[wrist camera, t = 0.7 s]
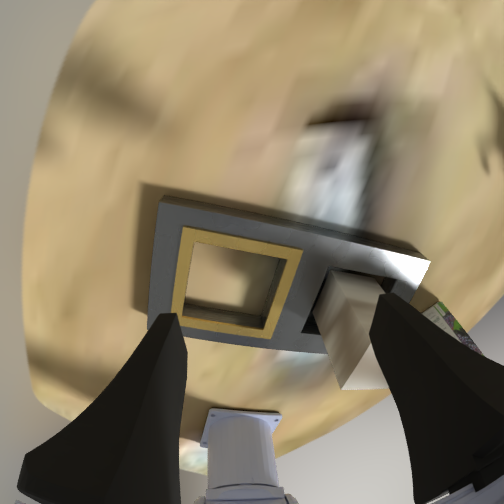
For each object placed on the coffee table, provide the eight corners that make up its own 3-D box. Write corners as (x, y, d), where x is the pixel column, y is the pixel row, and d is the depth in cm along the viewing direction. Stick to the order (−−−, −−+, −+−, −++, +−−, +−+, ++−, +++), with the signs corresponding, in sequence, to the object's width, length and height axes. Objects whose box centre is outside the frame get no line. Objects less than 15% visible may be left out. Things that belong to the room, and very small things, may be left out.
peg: (354, 317, 24) (390, 388, 17) (312, 312, 24) (340, 389, 17) (373, 277, 23) (421, 345, 16) (330, 269, 22) (370, 342, 15)
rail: (372, 345, 26) (378, 357, 25) (150, 317, 23) (146, 331, 21) (420, 253, 22) (431, 262, 20) (163, 195, 19) (158, 202, 17)
